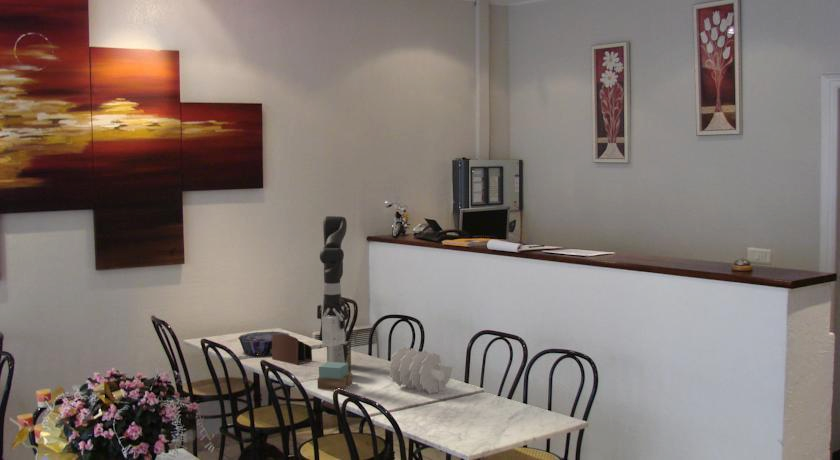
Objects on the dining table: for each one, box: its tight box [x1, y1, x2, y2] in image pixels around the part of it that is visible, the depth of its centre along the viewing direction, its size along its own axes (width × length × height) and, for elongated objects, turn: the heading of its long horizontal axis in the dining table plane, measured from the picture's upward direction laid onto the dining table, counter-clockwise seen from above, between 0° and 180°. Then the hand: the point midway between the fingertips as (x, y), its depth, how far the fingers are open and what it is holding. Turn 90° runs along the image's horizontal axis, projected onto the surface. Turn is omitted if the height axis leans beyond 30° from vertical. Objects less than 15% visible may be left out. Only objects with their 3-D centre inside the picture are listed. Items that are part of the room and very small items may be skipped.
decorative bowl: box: [238, 331, 291, 356], centre depth 455 cm, size 26×28×10 cm
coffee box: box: [333, 340, 352, 373], centre depth 399 cm, size 9×6×16 cm
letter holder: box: [271, 334, 313, 366], centre depth 433 cm, size 10×20×14 cm, turn 49°
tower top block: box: [318, 361, 348, 379], centre depth 383 cm, size 10×10×5 cm
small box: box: [321, 315, 344, 347], centre depth 381 cm, size 8×6×13 cm
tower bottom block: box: [317, 372, 353, 391], centre depth 383 cm, size 12×12×5 cm
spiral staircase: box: [388, 345, 453, 394], centre depth 375 cm, size 18×18×25 cm
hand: (333, 328), depth 381 cm, fingers closed on small box, 8 cm apart
